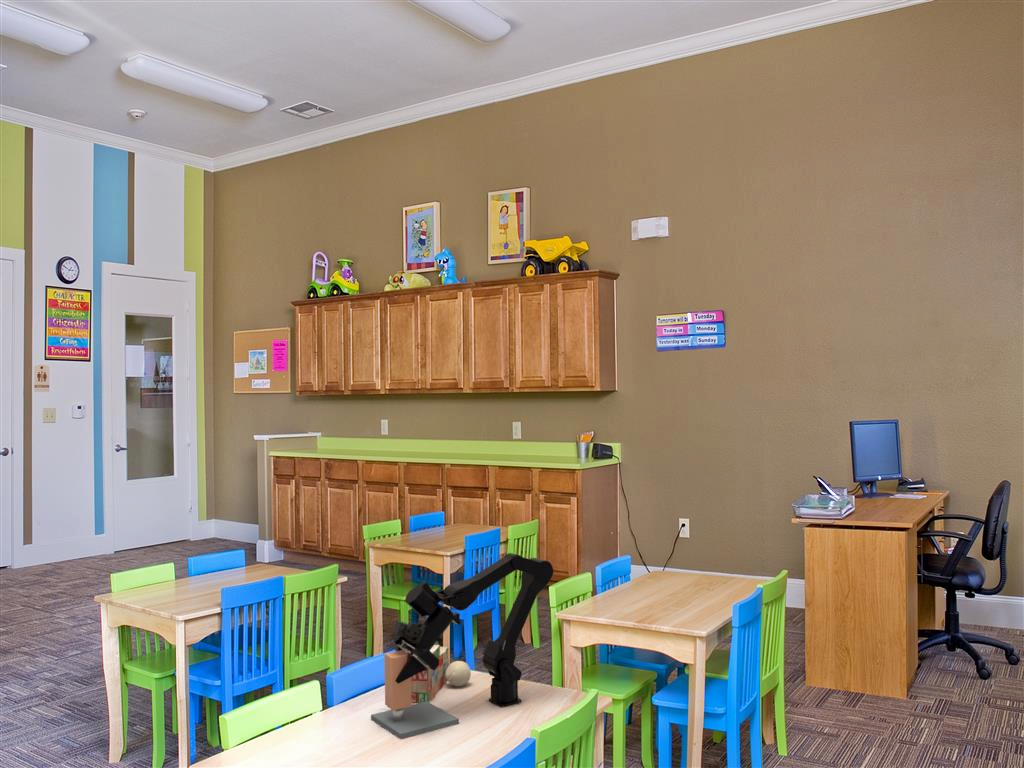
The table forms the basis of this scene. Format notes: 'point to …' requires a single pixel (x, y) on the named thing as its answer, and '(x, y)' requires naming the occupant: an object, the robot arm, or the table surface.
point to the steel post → (398, 715)
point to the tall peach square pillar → (394, 692)
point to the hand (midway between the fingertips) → (392, 679)
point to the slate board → (415, 720)
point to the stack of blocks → (430, 678)
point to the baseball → (458, 673)
